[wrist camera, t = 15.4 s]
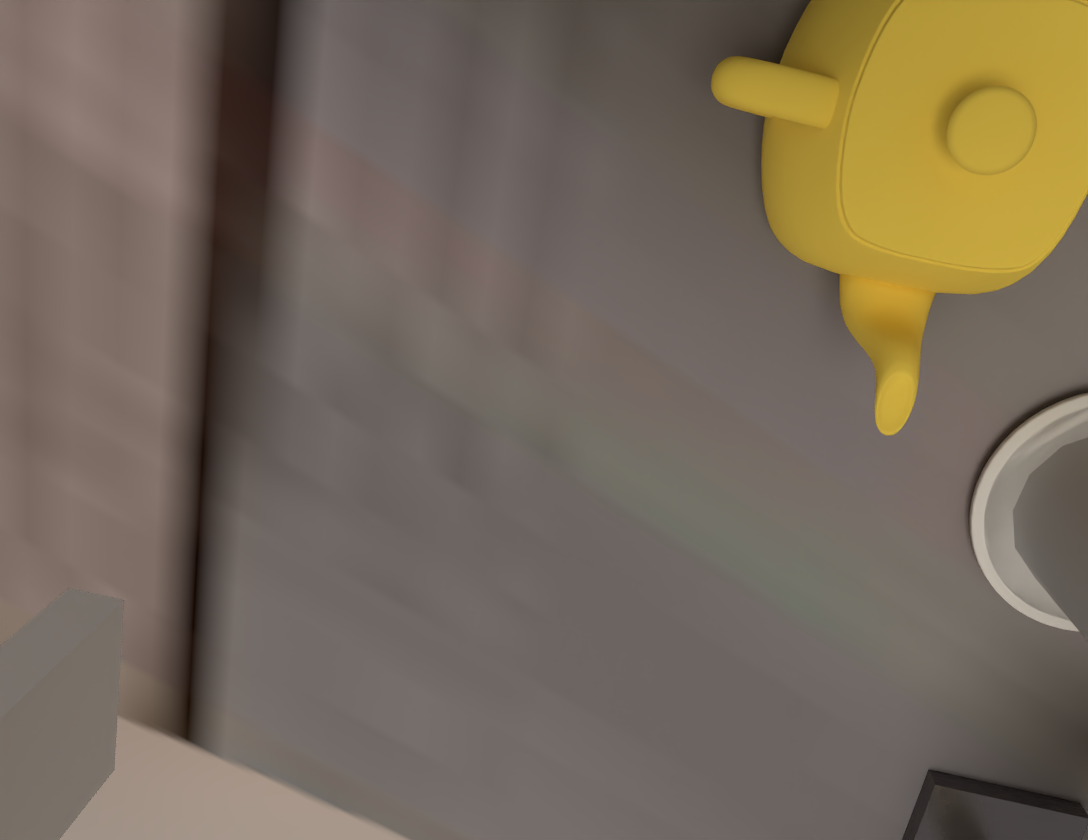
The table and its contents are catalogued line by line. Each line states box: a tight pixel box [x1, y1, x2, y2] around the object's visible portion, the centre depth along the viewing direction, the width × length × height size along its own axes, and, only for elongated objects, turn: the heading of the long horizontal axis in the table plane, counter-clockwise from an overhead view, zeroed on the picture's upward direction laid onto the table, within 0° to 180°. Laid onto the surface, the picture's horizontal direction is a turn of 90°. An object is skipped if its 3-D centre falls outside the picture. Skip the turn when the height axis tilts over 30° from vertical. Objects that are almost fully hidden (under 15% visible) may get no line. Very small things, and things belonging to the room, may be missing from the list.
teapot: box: [711, 0, 1088, 435], centre depth 38 cm, size 22×16×11 cm
